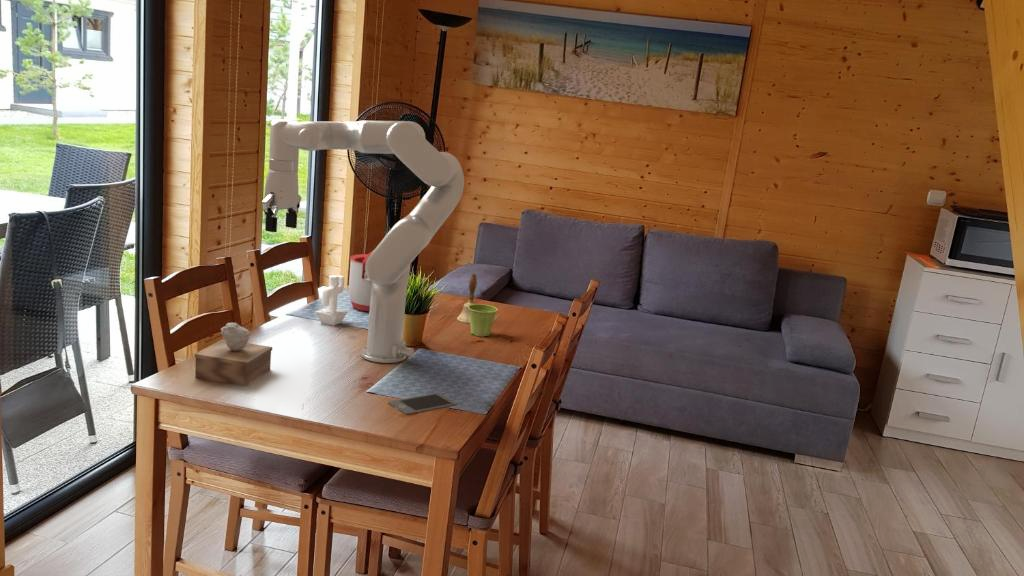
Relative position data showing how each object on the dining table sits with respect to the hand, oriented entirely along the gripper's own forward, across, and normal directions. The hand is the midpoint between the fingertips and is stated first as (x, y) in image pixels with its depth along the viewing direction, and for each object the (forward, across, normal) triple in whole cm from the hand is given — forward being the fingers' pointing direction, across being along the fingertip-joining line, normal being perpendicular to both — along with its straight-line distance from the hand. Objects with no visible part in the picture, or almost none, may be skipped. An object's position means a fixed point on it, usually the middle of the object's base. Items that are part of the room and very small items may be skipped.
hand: (281, 229), depth 222 cm
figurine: (+32, -26, +2) cm, 42 cm away
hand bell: (+33, -58, +36) cm, 76 cm away
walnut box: (+32, +28, +6) cm, 43 cm away
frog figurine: (+26, +28, +6) cm, 39 cm away
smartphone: (+33, +20, +53) cm, 66 cm away
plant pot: (+33, -45, +45) cm, 72 cm away
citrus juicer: (+32, -49, +4) cm, 59 cm away
